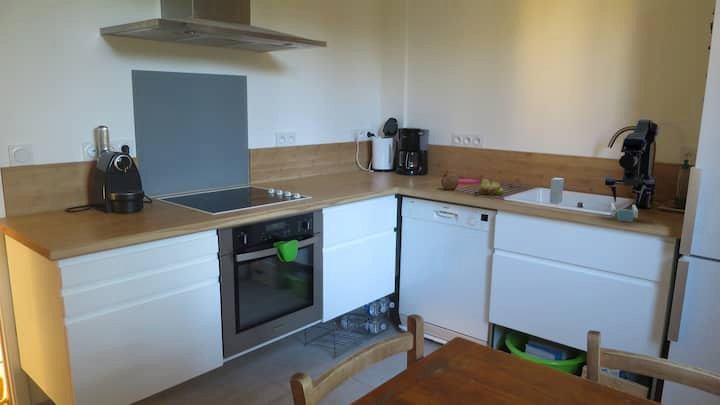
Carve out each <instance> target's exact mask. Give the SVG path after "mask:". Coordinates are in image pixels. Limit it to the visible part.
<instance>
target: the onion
mask: <svg viewBox="0 0 720 405" xmlns="http://www.w3.org/2000/svg"><path fill="white" fill-rule="evenodd" d="M440 183H441V186H442V188H443V189H444V190H446V191H454V190H455V189H456V188H457V187H458V185H459V177H458V176H457V175H456V174H453V173H445V174H443V176H442V177H441V181H440Z"/></svg>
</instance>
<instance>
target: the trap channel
mask: <svg viewBox="0 0 720 405" xmlns="http://www.w3.org/2000/svg"><path fill="white" fill-rule="evenodd" d="M609 208H610V209H609V210H610V213H611V212H612V214H611V217H616V212H615V211H616V210H618V209H619V208H618V209H617V208H616V206H615V202H611V203H610V207H609ZM631 210H633V212H634V215H633V219H638V216H639V210H638V207H636V206H635V205H633V204H632V205H631Z"/></svg>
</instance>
